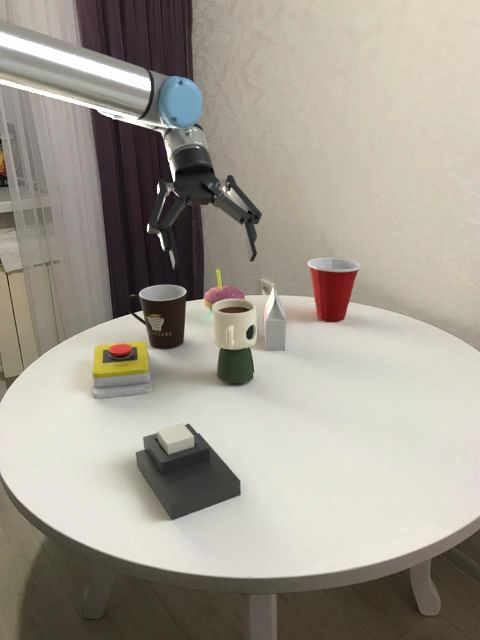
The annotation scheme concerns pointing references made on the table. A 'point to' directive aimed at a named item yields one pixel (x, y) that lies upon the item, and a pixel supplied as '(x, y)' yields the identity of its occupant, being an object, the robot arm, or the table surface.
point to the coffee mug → (162, 314)
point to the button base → (186, 476)
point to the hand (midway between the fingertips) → (215, 262)
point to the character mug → (234, 338)
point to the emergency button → (121, 370)
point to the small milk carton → (274, 323)
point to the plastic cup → (332, 286)
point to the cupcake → (221, 293)
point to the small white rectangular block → (175, 438)
